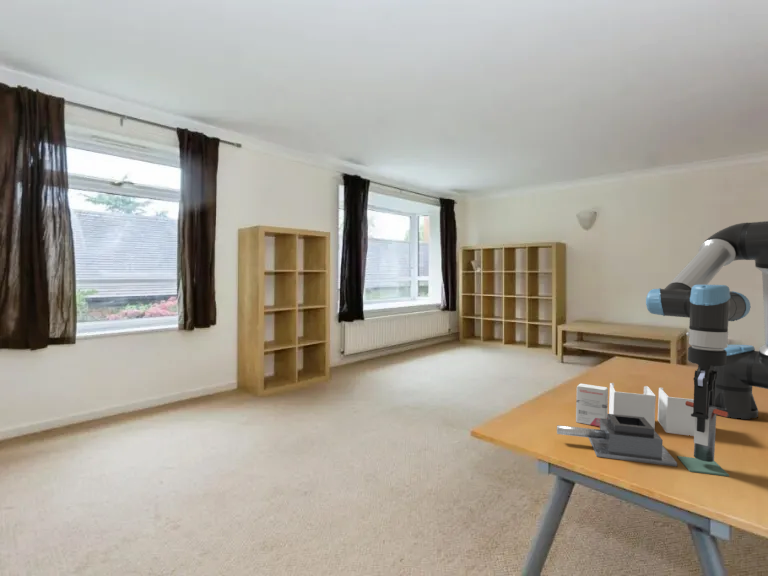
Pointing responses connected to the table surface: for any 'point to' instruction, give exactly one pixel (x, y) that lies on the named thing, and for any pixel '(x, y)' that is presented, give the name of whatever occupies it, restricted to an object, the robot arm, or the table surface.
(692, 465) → the rubber mat
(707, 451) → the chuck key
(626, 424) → the block
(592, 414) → the ink box
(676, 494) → the table surface
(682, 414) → the brackets
